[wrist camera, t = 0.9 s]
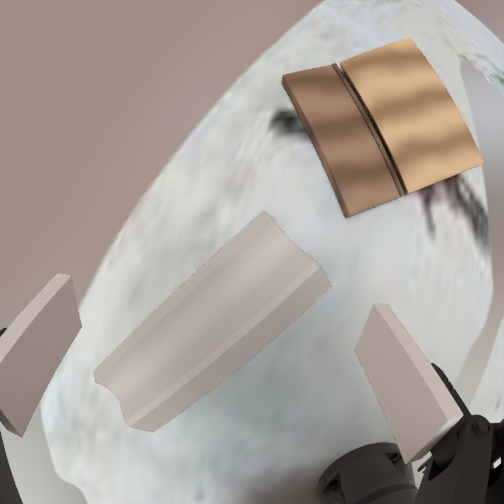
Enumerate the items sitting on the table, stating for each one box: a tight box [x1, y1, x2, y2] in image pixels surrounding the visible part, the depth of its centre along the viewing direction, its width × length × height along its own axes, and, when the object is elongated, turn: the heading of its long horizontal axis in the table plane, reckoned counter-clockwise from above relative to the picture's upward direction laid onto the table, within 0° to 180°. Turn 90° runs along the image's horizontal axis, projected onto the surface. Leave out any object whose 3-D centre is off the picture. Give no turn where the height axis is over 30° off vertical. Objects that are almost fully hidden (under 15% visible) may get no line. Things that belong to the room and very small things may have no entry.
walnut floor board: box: [282, 63, 405, 218], centre depth 32 cm, size 20×8×2 cm, turn 21°
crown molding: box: [94, 211, 332, 432], centre depth 32 cm, size 31×12×4 cm, turn 132°
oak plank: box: [340, 38, 484, 194], centre depth 30 cm, size 20×12×2 cm, turn 21°
